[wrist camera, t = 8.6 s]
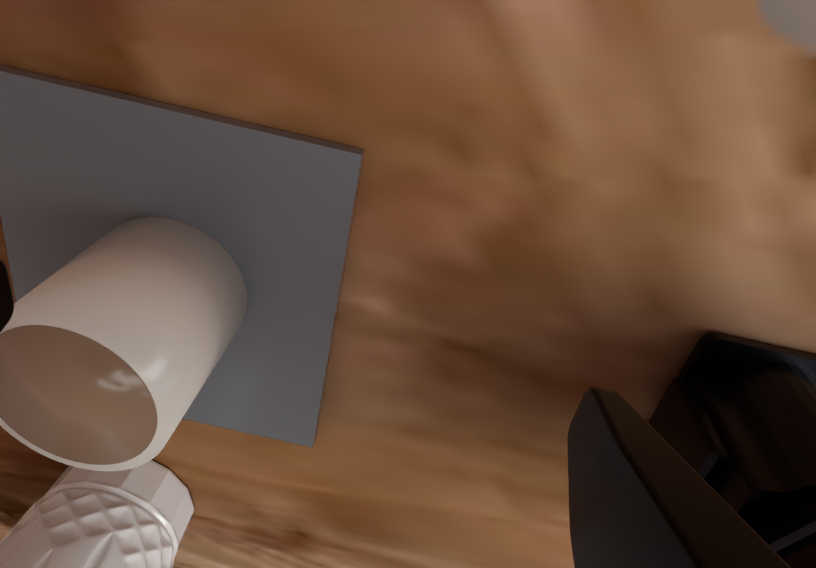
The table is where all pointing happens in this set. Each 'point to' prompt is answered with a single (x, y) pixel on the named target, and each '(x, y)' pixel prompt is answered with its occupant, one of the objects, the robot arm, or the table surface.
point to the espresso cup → (119, 344)
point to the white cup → (103, 521)
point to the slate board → (199, 207)
